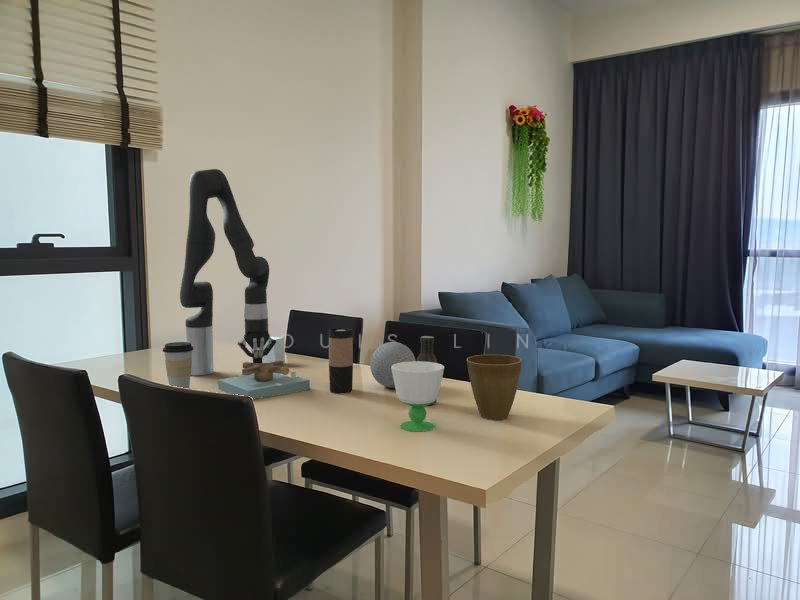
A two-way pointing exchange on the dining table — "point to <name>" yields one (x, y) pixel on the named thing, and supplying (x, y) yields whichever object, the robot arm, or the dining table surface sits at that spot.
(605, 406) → the dining table surface
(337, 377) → the travel mug
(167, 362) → the coffee cup
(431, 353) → the sauce bottle
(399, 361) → the decorative ball
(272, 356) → the small box
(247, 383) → the stand
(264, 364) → the capstan
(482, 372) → the plant pot
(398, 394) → the cup
